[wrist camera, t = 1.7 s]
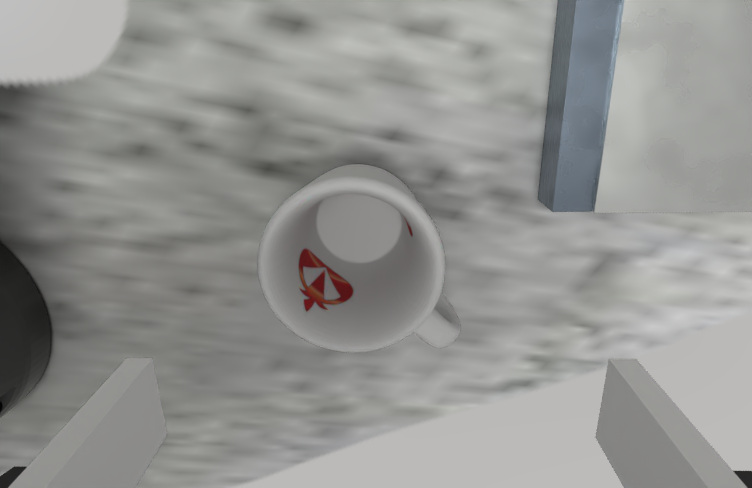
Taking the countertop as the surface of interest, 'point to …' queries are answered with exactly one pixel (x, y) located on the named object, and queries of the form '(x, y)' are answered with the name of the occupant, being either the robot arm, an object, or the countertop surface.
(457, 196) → the countertop surface
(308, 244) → the cup
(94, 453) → the robot arm
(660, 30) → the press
